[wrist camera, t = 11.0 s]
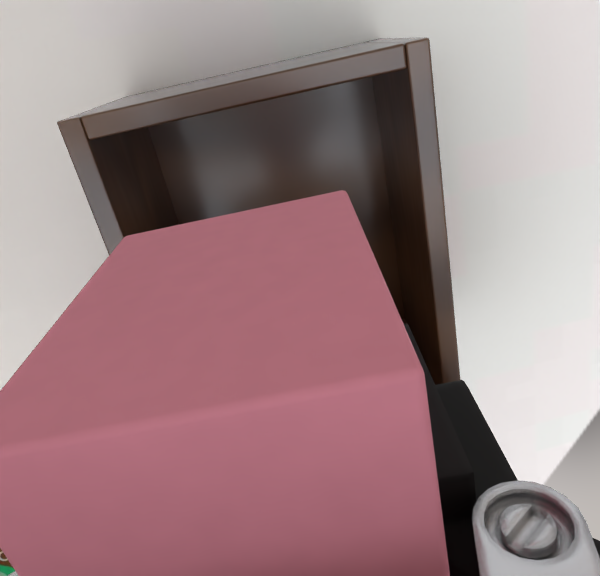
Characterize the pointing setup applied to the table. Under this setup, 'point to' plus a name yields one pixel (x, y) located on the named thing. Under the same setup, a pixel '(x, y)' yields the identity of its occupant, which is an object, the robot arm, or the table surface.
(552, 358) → the table surface
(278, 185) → the chest
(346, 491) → the pink rectangular box
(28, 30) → the table surface
